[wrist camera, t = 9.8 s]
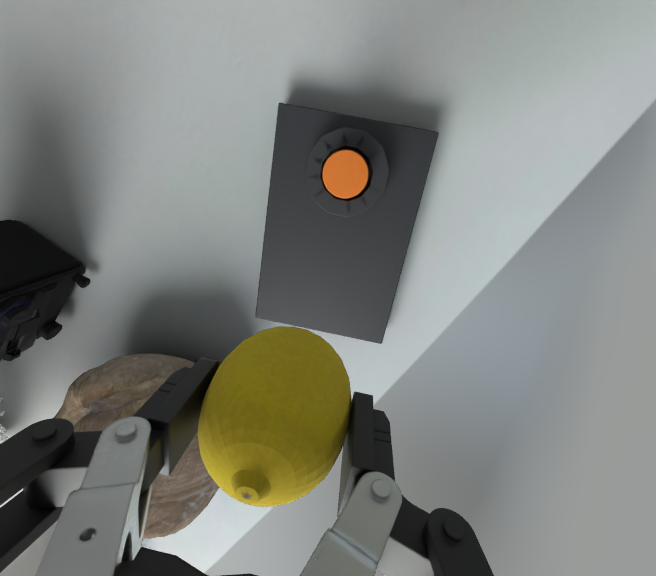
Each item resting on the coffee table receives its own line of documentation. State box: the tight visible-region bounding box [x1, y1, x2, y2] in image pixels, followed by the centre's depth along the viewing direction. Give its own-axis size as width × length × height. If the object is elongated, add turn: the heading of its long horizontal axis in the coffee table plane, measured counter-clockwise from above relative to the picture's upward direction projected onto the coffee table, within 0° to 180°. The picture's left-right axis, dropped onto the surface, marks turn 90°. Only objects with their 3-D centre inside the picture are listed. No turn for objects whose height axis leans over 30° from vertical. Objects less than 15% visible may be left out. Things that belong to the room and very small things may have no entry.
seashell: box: [54, 353, 219, 539], centre depth 33 cm, size 16×17×15 cm
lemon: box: [198, 327, 352, 507], centre depth 13 cm, size 6×6×8 cm
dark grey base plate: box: [256, 103, 439, 344], centre depth 28 cm, size 12×18×4 cm, turn 170°
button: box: [322, 150, 369, 198], centre depth 24 cm, size 3×3×2 cm
